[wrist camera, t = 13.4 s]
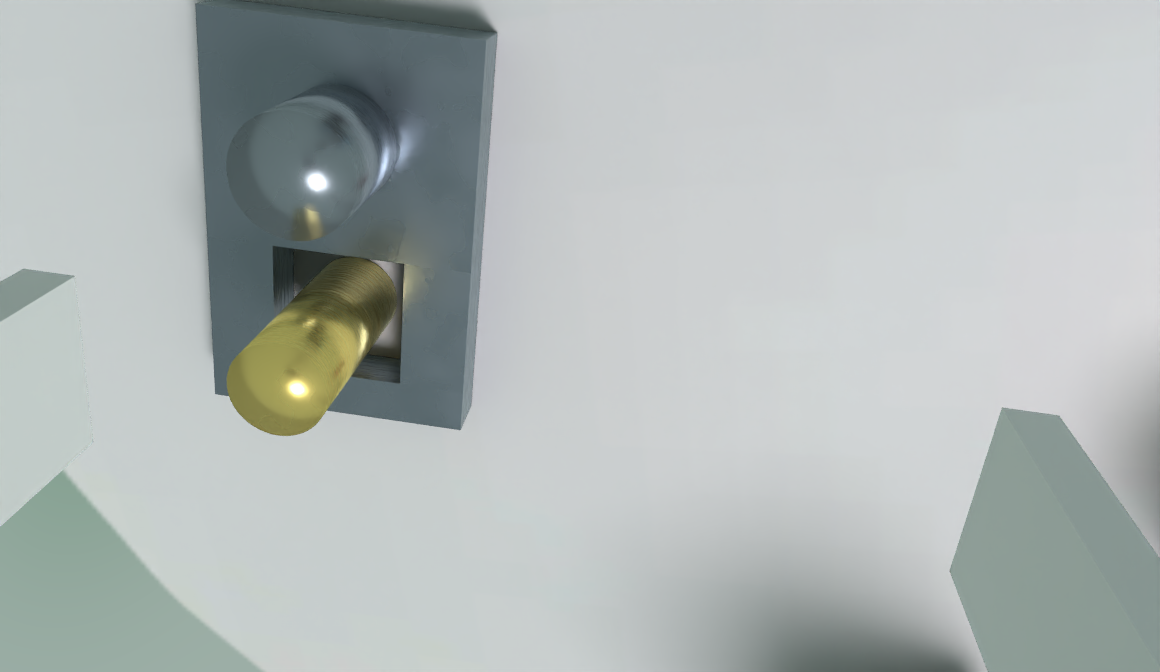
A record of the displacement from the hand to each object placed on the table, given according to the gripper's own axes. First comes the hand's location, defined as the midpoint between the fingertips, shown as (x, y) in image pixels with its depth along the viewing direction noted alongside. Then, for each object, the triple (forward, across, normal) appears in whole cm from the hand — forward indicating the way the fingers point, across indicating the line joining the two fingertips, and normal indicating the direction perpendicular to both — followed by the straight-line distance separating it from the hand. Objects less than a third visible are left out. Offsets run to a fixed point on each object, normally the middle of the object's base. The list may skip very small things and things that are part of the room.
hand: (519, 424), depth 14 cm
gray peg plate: (+31, -12, -8) cm, 34 cm away
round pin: (+31, -12, -12) cm, 35 cm away
